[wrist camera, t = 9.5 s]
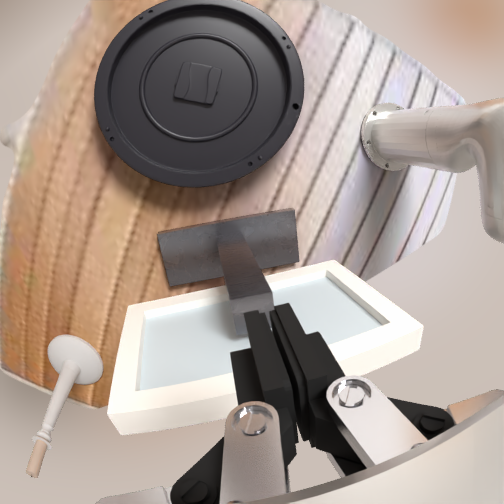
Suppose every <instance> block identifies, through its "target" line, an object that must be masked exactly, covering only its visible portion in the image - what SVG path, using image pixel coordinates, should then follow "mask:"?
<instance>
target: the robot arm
mask: <svg viewBox="0 0 504 504" xmlns="http://www.w3.org/2000/svg"><path fill="white" fill-rule="evenodd" d="M361 136H362V143H363V147H364V149H365V152H366V154H367V155H368V157H369V158H370V160H371V161H372V162H373V163H374V164H375V165H377V166H378V167H380V168H382V169H385V170H390V171H398V170H401V169H403V168H405V167H407V166H408V165H413V166H419V167H425V168H430V169H436V170H441V171H447V172H452V173H461V172H465V171H467V170H469V169H471V168H472V167H474V166H475V165H476V166H477V173H478V179H479V190H480V203H481V217H482V223H483V227H484V229H485V231H486V233H487V234H488V235H489V236H490V237H492V238H493V239H495V240H496V241H499V242H502V243H504V98H496V99H491V100H487V101H483V102H478V103H473V104H467V105H456V106H441V107H426V108H413V109H404V108H402V107H401V106H399V105H397V104H394V103H382V104H378V105H376V106H374V107H373V108H372V109H370V110H369V112H368V113H367V114H366V116H365V118H364V120H363V124H362V130H361ZM243 314H244V319H245V324H246V328H247V333H248V338H249V342H250V347H251V348H247V349H243V350H238V351H233V352H230V357H231V364H232V370H233V377H234V383H235V389H236V396H237V402H238V406H237V407H235V408H234V409H233V410H232V411H231V412H230V413H229V415H228V416H227V419H226V424H225V436H224V437H223V438H222V439H221V440H220V441H219V442H218V443H217V444H216V445H215V446H214V447H213V448H212V449H211V450H210V451H209V452H208V453H206V454H205V456H203V457H202V458H201V459H200V460H199V461H198V462H197V463H196V464H195V465H194V466H193V467H192V468H191V469H190V470H188V471H187V472H186V473H185V474H184V475H183V476H182V477H181V478H180V479H179V480H177V482H176V483H175V484H174V485H173V486H172V487H168V488H163V487H162V486H160V487H156V488H152V489H147V490H143V491H138V492H132V493H127V494H122V495H115V496H109V497H105V498H102V499H100V500H99V501H98V502H97V503H96V504H504V391H503V390H498V389H496V390H491V391H489V392H486V393H483V394H481V395H478V396H475V397H472V398H470V399H467V400H464V401H461V402H458V403H455V404H451V405H449V406H448V407H447V409H441V408H438V407H433V406H428V405H422V404H417V403H412V402H407V401H402V400H398V399H393V398H388V397H386V396H385V395H384V394H383V393H382V392H381V391H380V390H379V389H378V388H377V387H376V386H375V385H374V383H373V382H371V381H370V380H369V379H367V378H364V377H361V376H355V375H353V376H345V374H344V372H343V370H342V369H341V367H340V365H339V364H338V362H337V360H336V359H335V357H334V355H333V354H332V352H331V350H330V349H329V347H328V345H327V344H326V342H325V340H324V339H323V337H322V335H321V334H320V332H318V331H317V332H313V333H310V334H306V333H305V331H304V330H303V328H302V326H301V324H300V322H299V320H298V318H297V316H296V315H295V313H294V311H293V309H292V307H291V305H290V303H285V304H281V305H276V306H274V310H272V311H269V315H270V321H271V327H272V330H271V328H270V325H269V322H268V320H267V317H266V314H265V312H263V313H259V311H258V310H254V311H249V312H245V313H243ZM296 422H297V424H296ZM297 425H298V428H299V431H300V434H301V437H302V439H303V441H307V440H309V442H310V444H311V447H312V448H313V447H316V449H319V450H322V451H325V452H326V454H327V456H328V458H329V460H330V461H331V463H332V465H333V466H334V468H335V469H336V471H337V472H338V474H339V475H340V477H341V478H340V479H337V480H334V481H331V482H327V483H324V484H321V485H318V486H314V487H311V488H307V489H303V490H300V491H296V492H290V481H289V470H288V465H289V464H290V462H291V461H292V460H293V458H294V457H295V456H296V454H297V453H296V446H295V444H296V443H298V442H299V441H298V433H297Z"/></svg>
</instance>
